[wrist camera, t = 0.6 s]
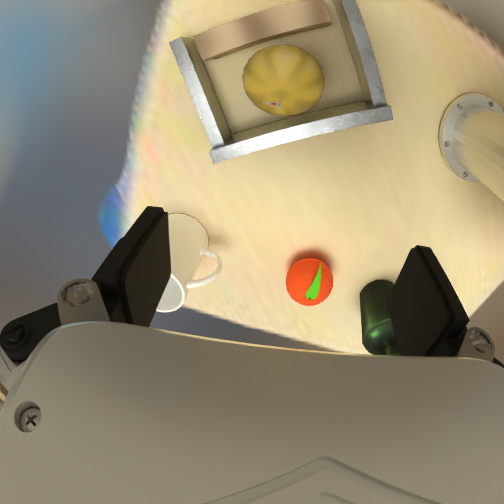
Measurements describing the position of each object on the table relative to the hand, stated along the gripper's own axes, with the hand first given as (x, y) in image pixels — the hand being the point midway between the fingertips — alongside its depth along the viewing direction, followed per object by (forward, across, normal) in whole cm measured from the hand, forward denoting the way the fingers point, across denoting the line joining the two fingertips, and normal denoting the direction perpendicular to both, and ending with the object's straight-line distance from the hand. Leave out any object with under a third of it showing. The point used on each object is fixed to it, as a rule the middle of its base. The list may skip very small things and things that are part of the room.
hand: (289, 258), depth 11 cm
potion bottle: (+28, -20, +25) cm, 43 cm away
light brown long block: (+29, +3, -11) cm, 31 cm away
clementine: (+29, -7, +21) cm, 36 cm away
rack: (+28, +1, -6) cm, 29 cm away
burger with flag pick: (+29, +1, -5) cm, 29 cm away
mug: (+29, +11, +20) cm, 37 cm away
